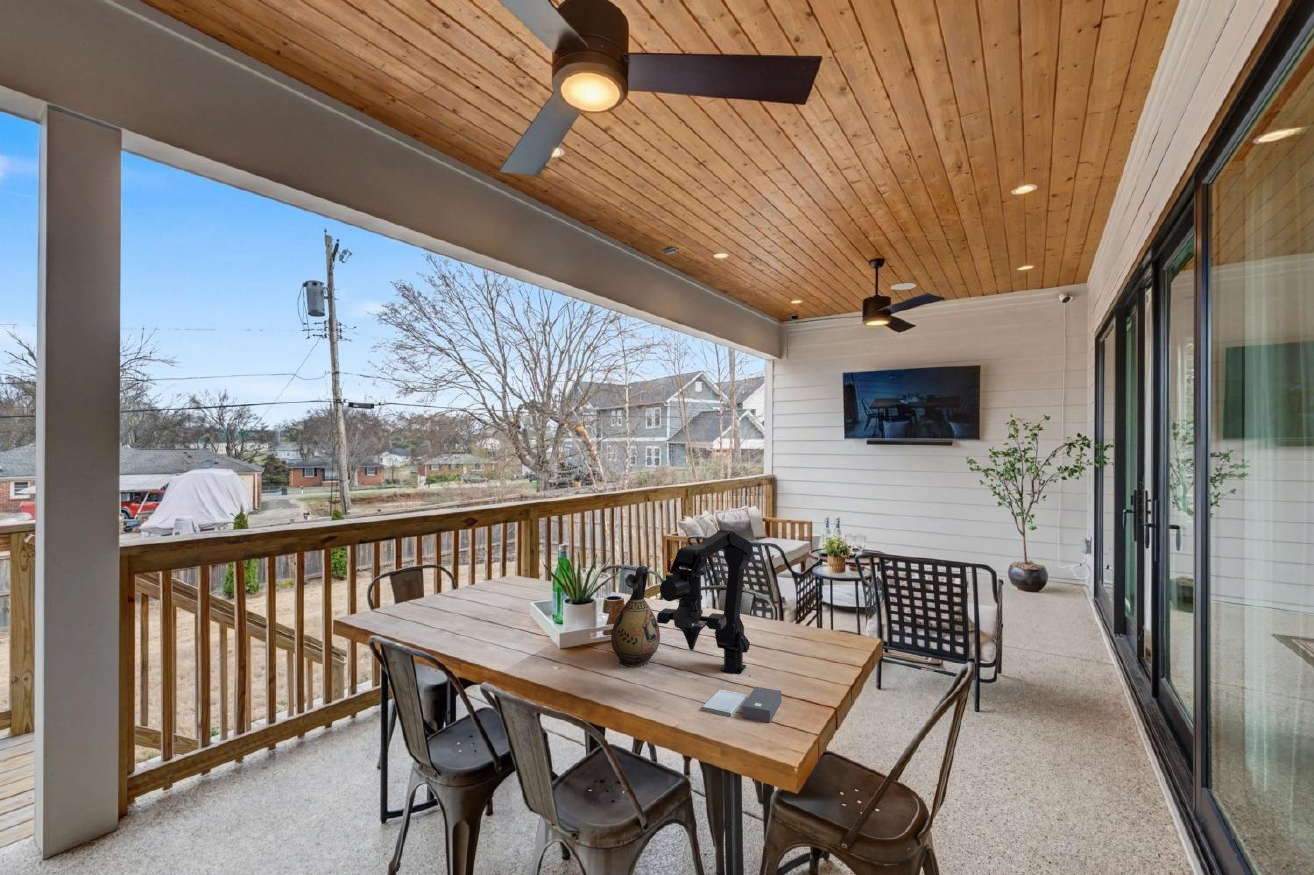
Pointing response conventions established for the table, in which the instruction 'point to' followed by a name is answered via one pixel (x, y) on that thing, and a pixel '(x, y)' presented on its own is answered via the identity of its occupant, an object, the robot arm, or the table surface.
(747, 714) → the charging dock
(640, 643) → the ceramic jug
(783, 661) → the table surface
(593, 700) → the table surface
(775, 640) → the table surface
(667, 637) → the table surface
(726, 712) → the hard drive
